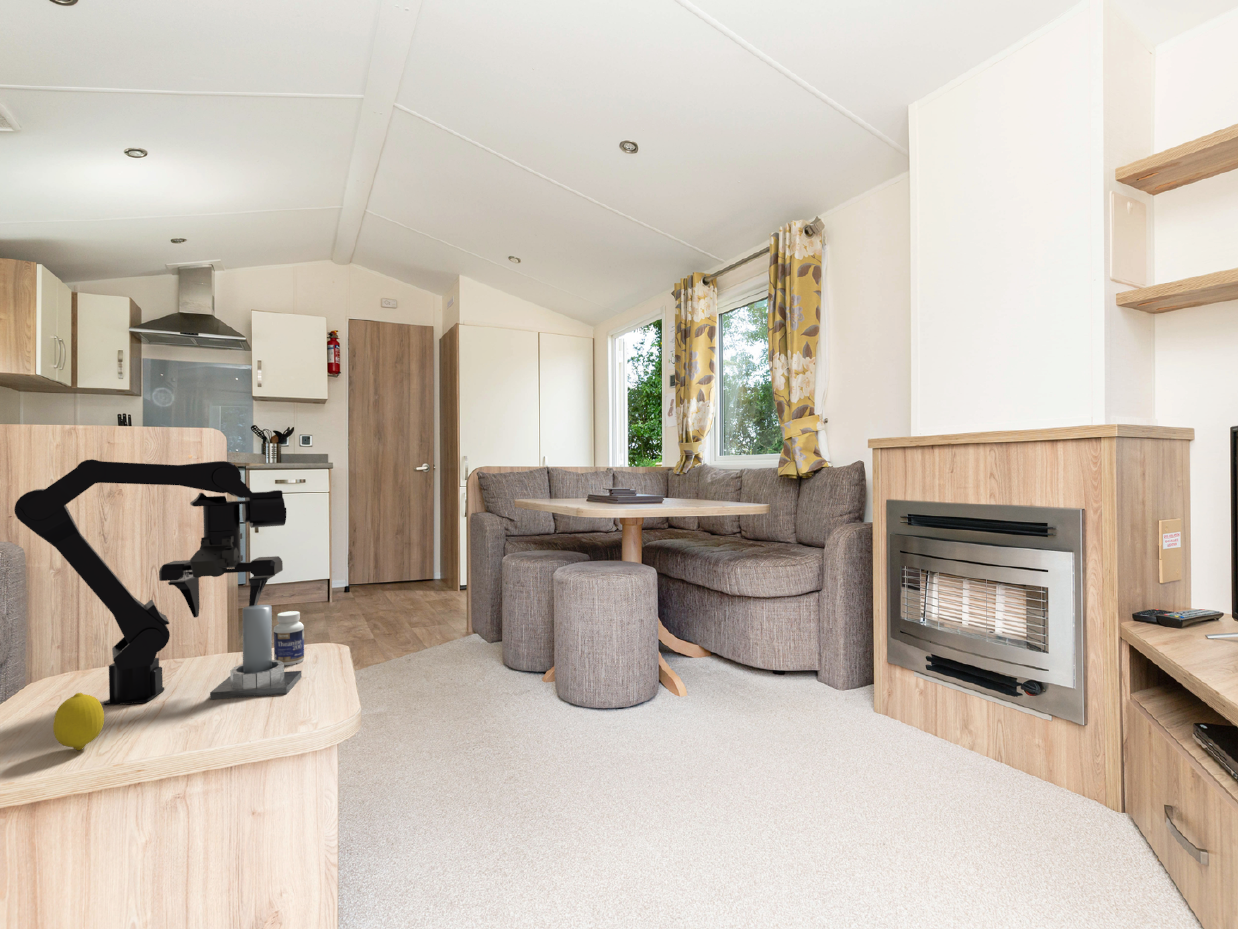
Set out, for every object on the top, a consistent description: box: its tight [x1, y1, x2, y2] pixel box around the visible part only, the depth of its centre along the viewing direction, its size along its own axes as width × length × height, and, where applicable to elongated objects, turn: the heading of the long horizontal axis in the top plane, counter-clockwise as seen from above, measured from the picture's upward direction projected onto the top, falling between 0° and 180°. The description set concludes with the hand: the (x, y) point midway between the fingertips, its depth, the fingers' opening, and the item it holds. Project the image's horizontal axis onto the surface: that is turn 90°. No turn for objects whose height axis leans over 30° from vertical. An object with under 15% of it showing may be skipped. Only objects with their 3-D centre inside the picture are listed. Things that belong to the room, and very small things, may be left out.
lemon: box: [52, 692, 105, 751], centre depth 93 cm, size 6×6×8 cm
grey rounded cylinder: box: [242, 604, 273, 673], centre depth 118 cm, size 4×4×13 cm
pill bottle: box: [273, 610, 305, 666], centre depth 133 cm, size 5×5×10 cm
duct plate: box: [209, 659, 302, 700], centre depth 118 cm, size 12×9×4 cm
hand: (224, 615), depth 122 cm, fingers open, 9 cm apart
